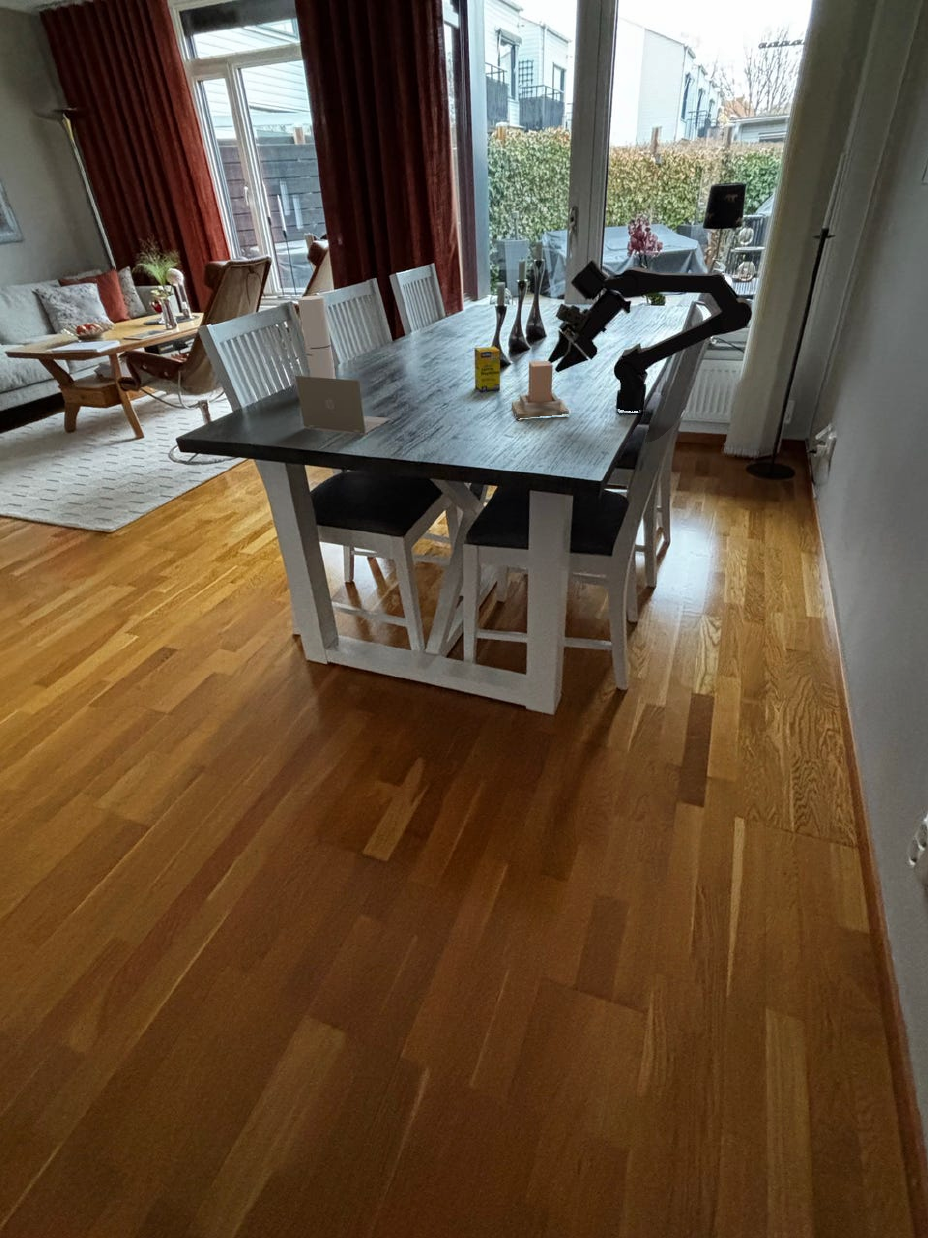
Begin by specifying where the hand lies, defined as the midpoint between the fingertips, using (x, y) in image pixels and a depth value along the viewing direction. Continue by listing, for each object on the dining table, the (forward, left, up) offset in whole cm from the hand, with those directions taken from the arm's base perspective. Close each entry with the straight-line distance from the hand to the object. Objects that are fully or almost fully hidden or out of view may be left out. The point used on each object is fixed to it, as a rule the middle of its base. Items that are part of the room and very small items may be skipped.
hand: (552, 366), depth 158 cm
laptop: (+50, +14, -12) cm, 54 cm away
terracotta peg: (+3, +1, -11) cm, 12 cm away
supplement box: (+20, -20, -11) cm, 31 cm away
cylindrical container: (+68, -15, -11) cm, 70 cm away
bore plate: (+3, +1, -11) cm, 12 cm away
